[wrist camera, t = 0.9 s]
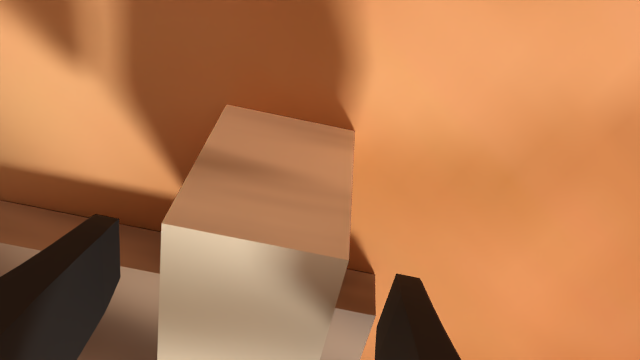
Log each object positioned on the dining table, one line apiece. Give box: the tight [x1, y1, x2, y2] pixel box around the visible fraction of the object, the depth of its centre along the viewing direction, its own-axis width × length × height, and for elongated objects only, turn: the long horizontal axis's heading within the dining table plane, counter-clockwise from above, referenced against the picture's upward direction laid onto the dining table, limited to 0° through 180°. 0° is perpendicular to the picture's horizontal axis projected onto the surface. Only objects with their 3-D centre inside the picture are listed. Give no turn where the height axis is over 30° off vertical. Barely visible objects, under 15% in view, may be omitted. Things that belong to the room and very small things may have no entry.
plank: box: [0, 200, 376, 360], centre depth 20 cm, size 8×22×2 cm, turn 79°
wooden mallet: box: [157, 104, 355, 360], centre depth 17 cm, size 13×4×6 cm, turn 169°
